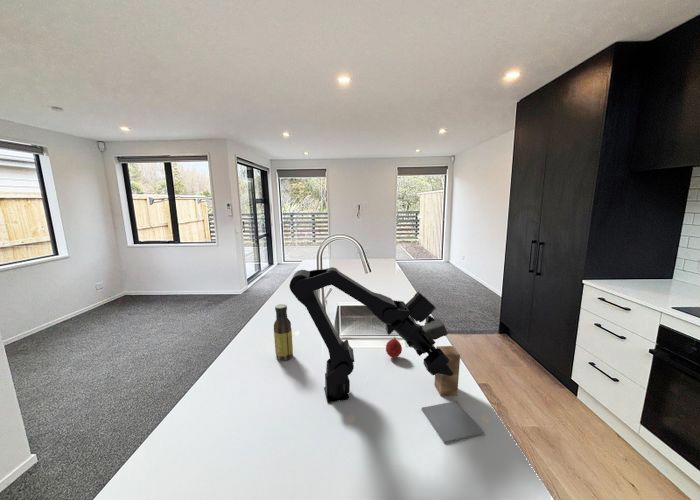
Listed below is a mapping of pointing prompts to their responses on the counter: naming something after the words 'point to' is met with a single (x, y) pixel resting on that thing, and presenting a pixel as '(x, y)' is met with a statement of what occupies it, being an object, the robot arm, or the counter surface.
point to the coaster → (452, 422)
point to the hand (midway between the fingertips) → (445, 365)
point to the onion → (393, 348)
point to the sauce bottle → (282, 334)
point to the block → (444, 382)
